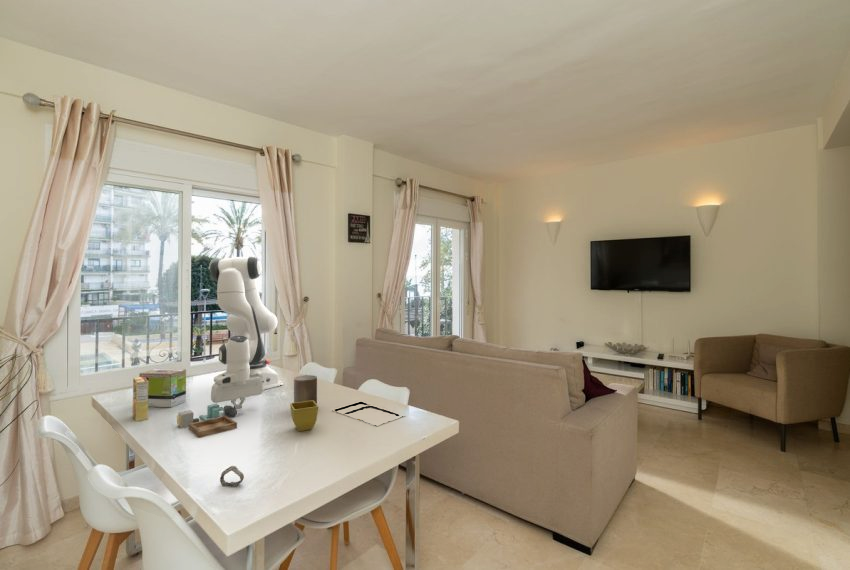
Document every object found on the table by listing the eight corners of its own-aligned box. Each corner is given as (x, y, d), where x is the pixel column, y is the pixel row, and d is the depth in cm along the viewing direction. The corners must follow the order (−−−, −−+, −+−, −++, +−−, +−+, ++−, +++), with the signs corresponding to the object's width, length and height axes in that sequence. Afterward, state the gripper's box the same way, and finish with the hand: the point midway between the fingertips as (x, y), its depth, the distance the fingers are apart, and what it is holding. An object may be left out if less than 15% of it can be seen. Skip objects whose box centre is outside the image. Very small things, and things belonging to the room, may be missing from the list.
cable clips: (216, 414, 164) (216, 403, 164) (224, 419, 158) (224, 408, 158) (199, 417, 159) (199, 406, 159) (206, 423, 154) (206, 411, 154)
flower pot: (293, 434, 144) (293, 409, 144) (289, 426, 151) (289, 402, 151) (318, 430, 148) (318, 406, 148) (313, 423, 155) (313, 400, 155)
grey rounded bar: (223, 413, 167) (220, 407, 166) (230, 409, 169) (227, 403, 168) (232, 419, 160) (229, 412, 159) (239, 414, 162) (237, 408, 161)
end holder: (225, 420, 157) (225, 415, 157) (236, 428, 149) (236, 422, 149) (188, 429, 147) (188, 423, 147) (198, 437, 140) (198, 431, 140)
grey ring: (224, 481, 110) (224, 463, 110) (246, 482, 109) (246, 464, 109) (216, 488, 106) (217, 469, 106) (238, 489, 106) (239, 470, 106)
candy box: (132, 415, 161) (132, 377, 161) (144, 413, 164) (145, 376, 164) (135, 421, 155) (135, 382, 154) (148, 419, 157) (149, 380, 157)
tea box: (186, 401, 181) (187, 368, 181) (170, 408, 171) (170, 373, 171) (156, 399, 183) (156, 367, 182) (138, 406, 173) (138, 372, 172)
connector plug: (197, 421, 156) (197, 408, 156) (200, 423, 153) (200, 410, 153) (176, 425, 151) (176, 412, 151) (179, 428, 148) (179, 415, 148)
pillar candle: (321, 409, 172) (321, 374, 172) (300, 414, 165) (301, 378, 165) (309, 404, 179) (309, 371, 179) (289, 409, 172) (289, 374, 172)
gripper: (259, 370, 176) (259, 402, 176) (209, 378, 161) (209, 412, 161) (266, 373, 171) (265, 405, 171) (215, 381, 156) (214, 416, 156)
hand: (237, 408), depth 166 cm, fingers closed
